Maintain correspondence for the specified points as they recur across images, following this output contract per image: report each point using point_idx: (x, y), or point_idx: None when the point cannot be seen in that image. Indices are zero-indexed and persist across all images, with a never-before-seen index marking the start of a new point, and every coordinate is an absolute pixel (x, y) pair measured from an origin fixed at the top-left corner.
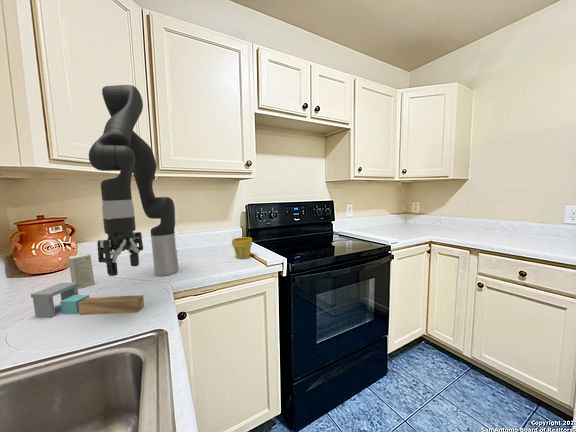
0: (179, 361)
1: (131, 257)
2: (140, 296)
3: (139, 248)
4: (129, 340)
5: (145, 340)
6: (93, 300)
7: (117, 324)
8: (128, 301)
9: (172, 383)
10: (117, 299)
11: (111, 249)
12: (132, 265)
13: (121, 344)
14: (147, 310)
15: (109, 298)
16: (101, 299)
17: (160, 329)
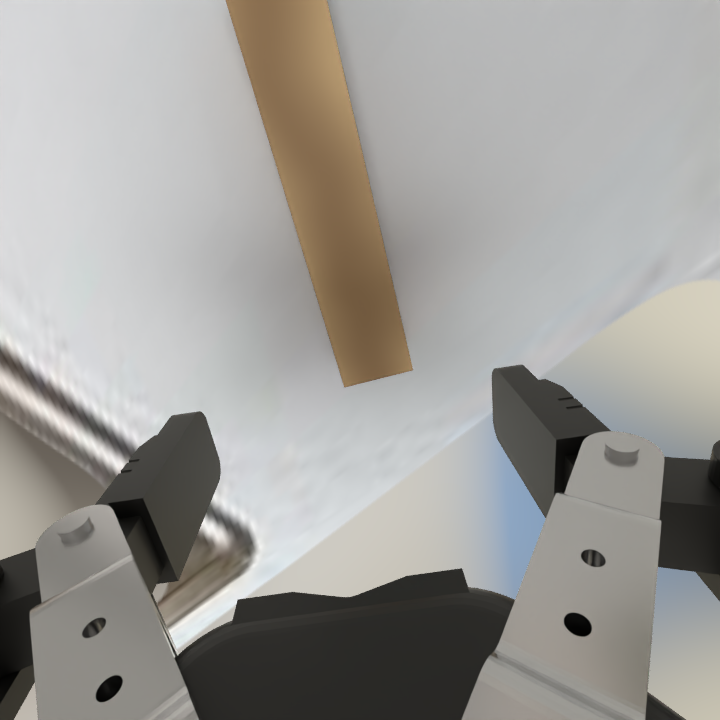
0: None
1: (535, 437)
2: (394, 368)
3: (708, 567)
4: None
5: None
6: (279, 72)
7: (226, 362)
8: (331, 342)
9: None
10: (331, 257)
11: (130, 667)
12: (496, 384)
13: None
14: (368, 391)
15: (333, 179)
16: (307, 127)
17: (250, 543)
